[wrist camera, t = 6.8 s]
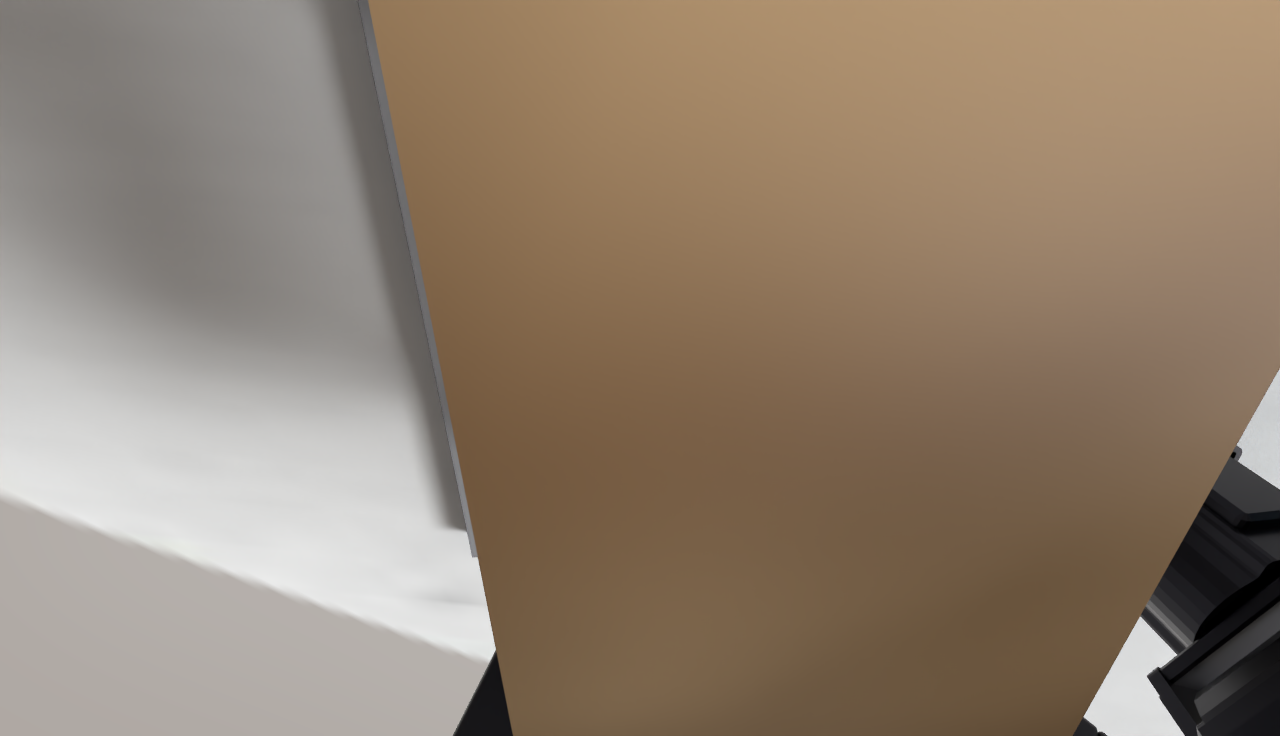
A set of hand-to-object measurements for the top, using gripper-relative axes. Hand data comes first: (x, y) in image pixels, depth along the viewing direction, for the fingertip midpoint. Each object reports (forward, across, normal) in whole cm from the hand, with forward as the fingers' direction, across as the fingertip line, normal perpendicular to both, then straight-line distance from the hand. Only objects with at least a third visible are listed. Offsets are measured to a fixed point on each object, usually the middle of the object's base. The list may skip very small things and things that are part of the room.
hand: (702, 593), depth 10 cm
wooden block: (+1, 0, 0) cm, 1 cm away
